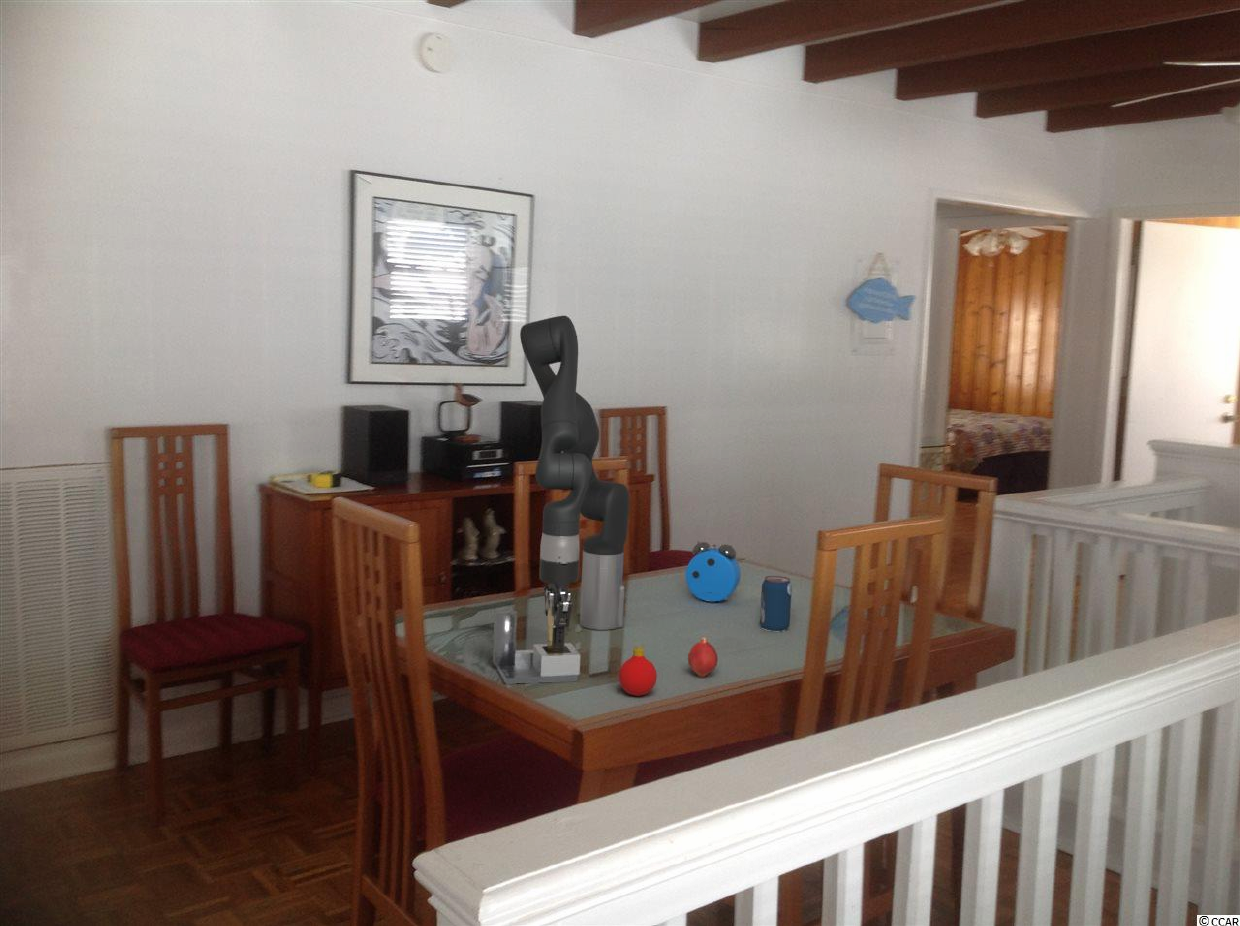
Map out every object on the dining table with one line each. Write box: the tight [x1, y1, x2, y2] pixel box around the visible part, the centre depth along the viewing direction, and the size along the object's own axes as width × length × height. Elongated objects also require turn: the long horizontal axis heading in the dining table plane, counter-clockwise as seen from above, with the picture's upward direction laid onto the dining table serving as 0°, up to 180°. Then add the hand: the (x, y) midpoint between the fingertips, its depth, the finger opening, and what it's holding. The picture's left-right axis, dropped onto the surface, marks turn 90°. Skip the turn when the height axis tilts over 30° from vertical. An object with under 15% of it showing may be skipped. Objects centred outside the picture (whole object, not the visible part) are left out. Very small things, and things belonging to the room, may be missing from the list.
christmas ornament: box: [618, 642, 658, 697], centre depth 200 cm, size 7×7×10 cm
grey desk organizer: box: [492, 609, 581, 685], centre depth 210 cm, size 15×12×11 cm
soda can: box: [759, 575, 793, 631], centre depth 251 cm, size 7×7×12 cm
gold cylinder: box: [546, 608, 564, 654], centre depth 209 cm, size 3×3×10 cm
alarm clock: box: [685, 541, 741, 602], centre depth 275 cm, size 13×6×15 cm, turn 71°
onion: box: [687, 637, 719, 678], centre depth 213 cm, size 6×6×8 cm
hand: (555, 643), depth 209 cm, fingers closed on gold cylinder, 3 cm apart
